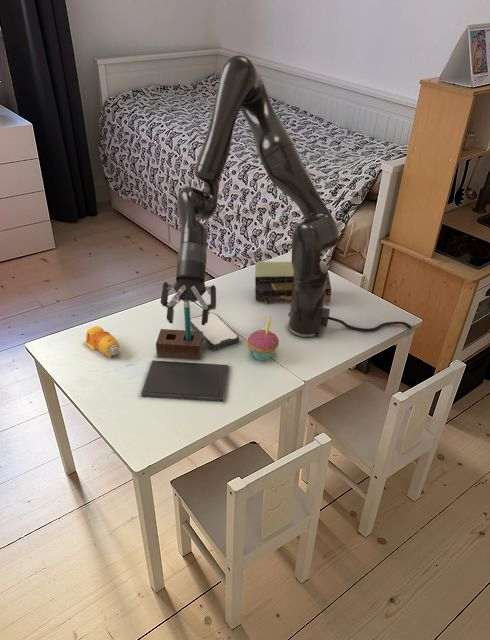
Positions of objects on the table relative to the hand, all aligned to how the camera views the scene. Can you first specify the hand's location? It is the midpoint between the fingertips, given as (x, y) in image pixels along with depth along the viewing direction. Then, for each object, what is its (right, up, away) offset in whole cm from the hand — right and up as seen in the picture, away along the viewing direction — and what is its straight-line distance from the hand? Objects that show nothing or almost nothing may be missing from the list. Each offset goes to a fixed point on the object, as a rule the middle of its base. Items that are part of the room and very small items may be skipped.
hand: (186, 323), depth 141 cm
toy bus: (+29, +12, +31) cm, 44 cm away
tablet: (0, -15, -4) cm, 16 cm away
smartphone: (+6, -1, +14) cm, 15 cm away
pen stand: (-2, -7, +6) cm, 10 cm away
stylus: (0, -7, +6) cm, 9 cm away
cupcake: (+20, -8, +6) cm, 22 cm away
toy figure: (-23, -7, +6) cm, 25 cm away
